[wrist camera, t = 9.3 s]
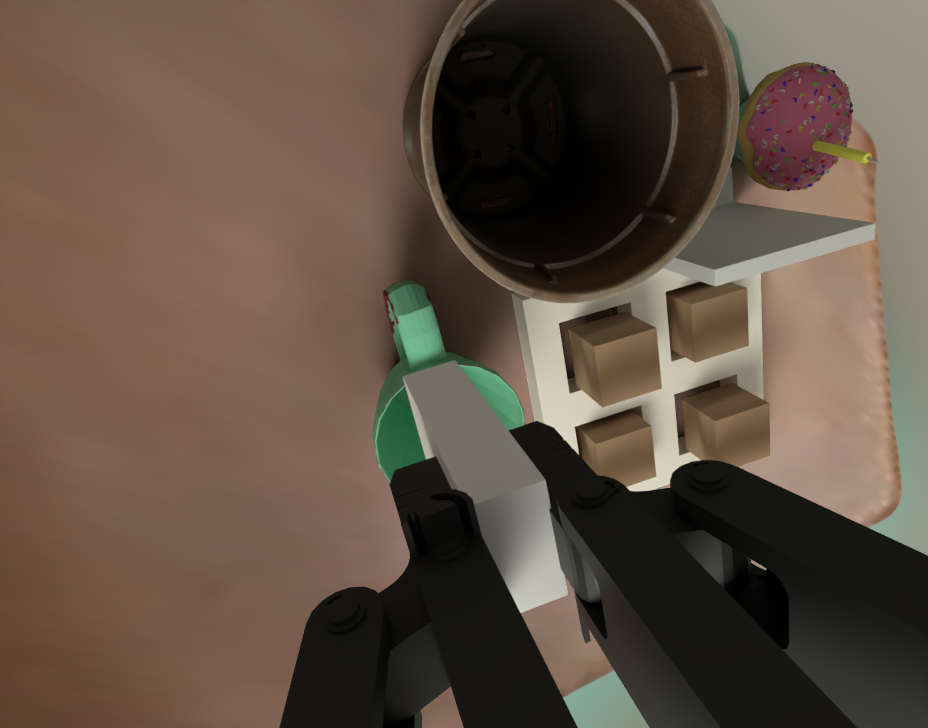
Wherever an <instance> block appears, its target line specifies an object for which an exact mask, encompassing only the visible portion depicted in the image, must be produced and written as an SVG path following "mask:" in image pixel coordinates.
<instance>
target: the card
mask: <svg viewBox="0 0 928 728" xmlns="http://www.w3.org/2000/svg"><path fill="white" fill-rule="evenodd" d="M874 239H875V223H872V222H865V221H858V220H851V219H844V218H838V217H831V216H824V215H817V214H810V213H803V212H797V211H790V210H783V209H776V208H769V207H762V206H756V205H749V204H742V203H735V202H733V178H732V167H730V168H729V172H728V174H727V177H726V180H725V183H724V185H723V188H722V190H721V192H720V195H719V197H718V199H717V201H716V203H715V205H714V207H713V209H712V210H711V212H710V214H709V216H708V217H707V219H706V221H705V222H704V224H703V225H702V227H701V228H700V230H699V231H698V232H697V233H696V235H695V236H694V237H693V239H692V240H691V241H690V242H689V243H688V245H687V246H686V247H685V248H684V249H683V250H682V251H681V252H680V253H679V254H678V255H677V256H676V257H675V258H674V259H673V260H672V261H670V262H669V263H668V264H667V265H666V266H665V267H664V268H663V269H666V270H669V271H672V272H675V273H678V274H681V275H683V276H686V277H689V278H692V279H695V280H698V281H701V282H704V283H706V284H709V285H712V286H715V287H716V286H719V285H722V284H726V283H729V282H732V281H736V280H739V279H743V278H746V277H749V276H753V275H756V274H759V273H763V272H766V271H770V270H773V269H776V268H780V267H783V266H786V265H790V264H793V263H797V262H800V261H803V260H807V259H810V258H813V257H817V256H820V255H824V254H827V253H830V252H834V251H837V250H841V249H844V248H847V247H851V246H854V245H857V244H861V243H864V242H868V241H871V240H874Z"/></svg>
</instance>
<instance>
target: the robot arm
mask: <svg viewBox="0 0 928 728" xmlns="http://www.w3.org/2000/svg"><path fill="white" fill-rule="evenodd" d="M403 380H404V383H405V387H406V391H407V394H408V398H409V401H410V405H411V408H412V412H413V415H414V419H415V422H416V426H417V430H418V433H419V437H420V440H421V444H422V447H423V451H424V454H425V458H426V460H423V461H420V462H417V463H414V464H411V465H408V466H405V467H402V468H399V469H396V470H395V471H394V474H393V476H392V479H391V482H390V488H391V491H392V494H393V497H394V501H395V504H396V507H397V511H398V514H399V517H400V521H401V526H402V529H403V532H404V536H405V539H406V542H407V545H408V548H409V551H410V559H409V563H408V566H407V568H406V569H405V571H404V573H403V574H402V575H401V576H400V577H399V578H398V579H397V581H395V582H394V583H393V584H391V585H390V586H389V587H387V588H386V589H384V590H383V591H381V592H380V593H377V592H376V591H375V590H373V589H370V588H366V587H350V588H347V589H344V590H341V591H338V592H335V593H334V594H332V595H331V596H329V597H327V598H326V599H324V600H323V601H322V602H321V603H320V604H319V605H318V606H317V607H316V608H315V609H314V610H313V611H312V613H311V615H310V617H309V619H308V621H307V623H306V627H305V630H304V634H303V638H302V642H301V646H300V650H299V654H298V658H297V662H296V665H295V669H294V673H293V677H292V681H291V685H290V689H289V693H288V697H287V700H286V704H285V708H284V712H283V716H282V720H281V724H280V728H422V714H421V709H422V708H423V707H425V706H426V705H427V704H429V703H430V702H431V701H432V700H434V699H435V698H436V697H438V696H439V695H440V694H441V693H443V692H444V691H445V690H447V689H448V688H449V687H450V686H451V688H452V691H453V694H454V697H455V701H456V704H457V707H458V710H459V714H460V717H461V720H462V723H463V727H464V728H578V727H577V725H576V723H575V721H574V719H573V718H572V715H571V714H570V711H569V709H568V707H567V705H566V703H565V701H564V699H563V697H562V695H561V693H560V691H559V689H558V687H557V685H556V683H555V681H554V679H553V677H552V675H551V673H550V671H549V669H548V667H547V665H546V663H545V661H544V659H543V657H542V655H541V653H540V651H539V649H538V647H537V645H536V643H535V641H534V639H533V637H532V635H531V633H530V631H529V629H528V627H527V625H526V623H525V621H524V619H523V617H522V615H521V613H522V612H525V611H527V610H530V609H532V608H535V607H537V606H540V605H543V604H545V603H548V602H550V601H553V600H556V599H558V598H561V597H563V596H566V595H568V592H567V586H566V581H565V576H566V578H567V579H568V581H569V582H570V584H571V586H572V587H573V589H574V592H575V598H576V603H577V608H578V613H579V618H580V624H581V629H582V634H583V637H584V640H585V643H587V642H589V641H591V640H590V635H589V629H590V631H591V633H592V634H593V636H594V638H595V639H596V641H597V642H598V644H599V646H600V647H601V649H602V651H603V652H604V654H605V656H606V657H607V659H608V660H609V662H610V664H611V665H612V667H613V669H614V670H615V672H616V673H617V675H618V677H619V678H620V680H621V682H622V683H623V685H624V687H625V688H626V690H627V691H628V693H629V695H630V696H631V698H632V700H633V701H634V703H635V705H636V706H637V708H638V709H639V711H640V713H641V714H642V716H643V718H644V719H645V720H646V722H647V724H648V726H649V727H650V728H928V556H927V555H925V554H923V553H921V552H919V551H917V550H914V549H912V548H910V547H908V546H906V545H904V544H902V543H899V542H897V541H895V540H893V539H891V538H889V537H887V536H884V535H882V534H880V533H878V532H876V531H873V530H871V529H869V528H867V527H865V526H863V525H861V524H859V523H857V522H854V521H852V520H850V519H848V518H846V517H844V516H842V515H839V514H837V513H835V512H833V511H831V510H829V509H827V508H824V507H822V506H820V505H818V504H816V503H814V502H812V501H809V500H807V499H805V498H803V497H801V496H799V495H797V494H794V493H792V492H790V491H788V490H786V489H784V488H782V487H779V486H777V485H775V484H773V483H771V482H769V481H767V480H764V479H762V478H760V477H758V476H756V475H754V474H752V473H749V472H747V471H745V470H743V469H741V468H739V467H737V466H734V465H732V464H729V463H725V462H722V461H715V460H700V461H693V462H690V463H687V464H684V465H682V466H680V467H679V468H678V469H676V470H675V471H674V472H673V473H672V476H671V479H670V487H671V488H665V489H657V490H650V491H630V490H629V489H628V488H627V487H626V486H625V485H624V484H622V483H621V482H619V481H618V480H616V479H614V478H610V477H606V476H598V475H597V474H596V473H595V472H594V471H593V470H592V469H591V468H590V467H589V465H588V464H587V463H586V462H585V461H584V460H583V459H582V458H581V457H580V456H579V455H578V453H577V452H576V451H575V450H574V449H572V448H571V446H570V445H569V444H568V443H567V441H566V440H564V439H563V437H562V436H561V435H560V434H559V433H558V432H557V431H556V429H555V428H554V427H551V426H549V425H546V424H544V423H541V422H539V421H535V422H532V423H529V424H526V425H523V426H520V427H517V428H514V429H511V430H508V429H507V428H506V427H505V426H504V424H503V423H502V422H501V420H500V419H499V418H498V416H497V415H496V414H495V412H494V411H493V410H492V408H491V407H490V406H489V404H488V403H487V402H486V400H485V399H484V398H483V396H482V395H481V394H480V392H479V391H478V390H477V388H476V387H475V386H474V385H473V383H472V382H471V381H470V379H469V378H468V377H467V375H466V374H465V373H464V371H463V370H462V369H461V367H460V366H459V365H458V363H457V362H456V361H455V360H454V361H450V362H447V363H444V364H441V365H438V366H434V367H431V368H428V369H425V370H421V371H418V372H415V373H412V374H408V375H405V376H403ZM751 559H752V560H753V561H755V562H757V563H758V564H760V565H762V566H763V567H765V568H767V570H764V569H761V568H759V567H757V566H756V565H754V564H752V563H751ZM564 575H565V576H564Z"/></svg>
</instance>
